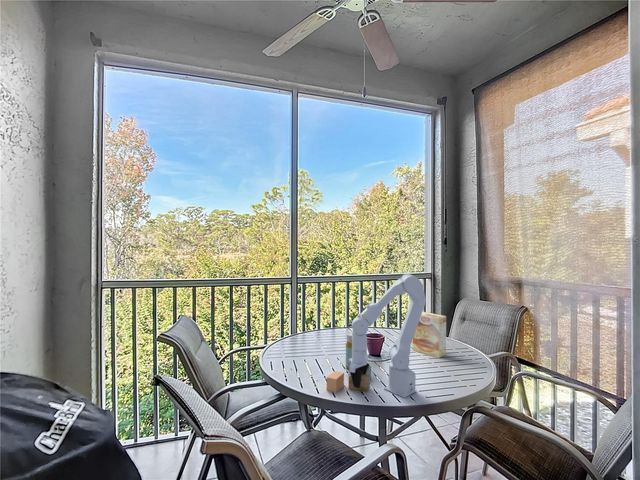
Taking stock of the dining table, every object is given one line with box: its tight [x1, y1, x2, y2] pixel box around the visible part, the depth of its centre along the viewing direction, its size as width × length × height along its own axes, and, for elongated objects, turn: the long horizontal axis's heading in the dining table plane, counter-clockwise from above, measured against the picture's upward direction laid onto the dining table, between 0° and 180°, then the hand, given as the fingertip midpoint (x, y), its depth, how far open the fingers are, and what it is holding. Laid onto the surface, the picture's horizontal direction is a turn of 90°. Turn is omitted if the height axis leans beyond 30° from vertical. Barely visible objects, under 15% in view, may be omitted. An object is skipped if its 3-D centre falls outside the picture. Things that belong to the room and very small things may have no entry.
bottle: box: [345, 331, 353, 369], centre depth 150 cm, size 7×7×15 cm
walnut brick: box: [348, 373, 371, 393], centre depth 130 cm, size 7×4×5 cm, turn 62°
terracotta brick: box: [326, 370, 345, 393], centre depth 130 cm, size 7×4×5 cm, turn 152°
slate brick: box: [366, 365, 372, 379], centre depth 139 cm, size 7×4×5 cm, turn 131°
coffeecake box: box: [412, 311, 447, 358], centre depth 171 cm, size 15×7×20 cm, turn 42°
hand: (358, 384), depth 130 cm, fingers closed on walnut brick, 4 cm apart
